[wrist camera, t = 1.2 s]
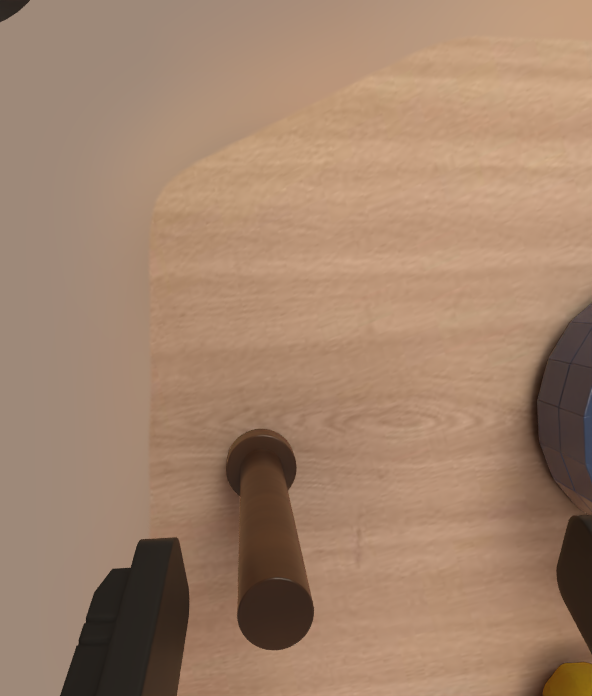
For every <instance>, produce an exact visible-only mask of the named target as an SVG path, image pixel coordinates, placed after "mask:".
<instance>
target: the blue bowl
mask: <svg viewBox="0 0 592 696" xmlns="http://www.w3.org/2000/svg"><path fill="white" fill-rule="evenodd" d="M537 412H538V433H539V443H540V445H541V448H542V451H543V453H544V456H545V458H546V461H547V464H548V466H549V469H550V471H551V474H552V477H553V478H554V480H555V481H556V483H557V484H558V485H559V486H560V487H561V488H562V490H563V491H564V492H565V493H566V494H567V496H568V497H569V498H570V499H571V500H572V502H573V503H574V504H575V505H576V506H577V507H578V508H579V509H580V510H582V511H583V512H585V513H586V514H588V515H592V303H591V304H590V305H589V306H587V307H586V308H585V309H584V310H583V311H582V312H581V313H580V314H578V315H577V316H576V317H575V318H574V319H573V320H572V321H571V322H570V323H569V325H568V326H567V328H566V329H565V331H564V333H563V334H562V336H561V338H560V339H559V341H558V343H557V344H556V346H555V347H554V349H553V351H552V352H551V354H550V356H549V357H548V360H547V364H546V368H545V372H544V376H543V380H542V383H541V387H540V391H539V395H538V400H537Z"/></svg>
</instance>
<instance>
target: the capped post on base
mask: <svg viewBox="0 0 592 696" xmlns="http://www.w3.org/2000/svg"><path fill="white" fill-rule="evenodd" d="M226 473H227V478H228V481H229V484H230V486H231V487H232V489H233V490H234V491H235V492H236V493H237V494H238V495H239V496H240V513H239V559H238V605H237V619H238V624H239V627H240V630H241V632H242V633H243V635H244V636H245V637H246V639H248V640H249V641H250V642H251V643H252V644H254V645H255V646H257V647H260V648H262V649H266V650H282V649H285V648H288V647H291V646H293V645H294V644H296V643H297V642H299V641H300V640H301V639H302V638H303V637H304V636H305V635H306V634H307V632H308V631H309V629H310V627H311V624H312V621H313V617H314V606H313V601H312V597H311V592H310V588H309V583H308V579H307V574H306V570H305V565H304V561H303V556H302V552H301V547H300V543H299V538H298V534H297V529H296V525H295V520H294V516H293V512H292V507H291V503H290V498H289V494H288V490H289V488H290V487H291V485H292V483H293V481H294V479H295V475H296V461H295V457H294V454H293V451H292V448H291V446H290V444H289V443H288V442H287V440H286V439H285V438H284V437H282V436H281V435H280V434H278V433H276V432H274V431H271V430H267V429H256V430H251V431H249V432H246V433H244V434H243V435H241V436H240V437H239V438H238V439H237V440H236V441H235V442H234V443H233V445H232V446H231V448H230V450H229V453H228V457H227V466H226Z"/></svg>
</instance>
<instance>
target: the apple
mask: <svg viewBox="0 0 592 696" xmlns="http://www.w3.org/2000/svg"><path fill="white" fill-rule="evenodd" d="M543 696H592V664H590V663H585V662H580V663H565V664H562V665H560V666H559V667H558V668H557V670H556V671H555V672H554V674H553V675H552V676H551V678H550V679H549V680H548V681H547V682H546V684H545V686H544V690H543Z"/></svg>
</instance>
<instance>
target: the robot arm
mask: <svg viewBox="0 0 592 696" xmlns="http://www.w3.org/2000/svg"><path fill="white" fill-rule="evenodd" d="M556 572H557V582H558V587H559V590H560V593H561V596H562V598H563V600H564V602H565V604H566V606H567V608H568V610H569V612H570V613H571V615H572V617H573V619H574V621H575V623H576V625H577V627H578V629H579V631H580V633H581V634H582V636H583V638H584V640H585V642H586V644H587V646H588V648H589V650H590V652H591V653H592V515H579V516H572V517H571V518H570V519H569V522H568V525H567V529H566V533H565V536H564V540H563V544H562V548H561V552H560V556H559V560H558V564H557V571H556ZM188 617H189V588H188V582H187V577H186V572H185V567H184V563H183V558H182V553H181V548H180V543H179V540H178V538H177V537H175V538H158V539H141V540H140V541H139V542H138V544H137V547H136V551H135V554H134V558H133V561H132V565H131V568H120V569H112V570H111V571H110V573H109V574H108V575H107V577H106V578H105V579H104V581H103V582H102V583H101V584H100V586H99V587H98V588H97V590H96V591H95V592H94V595H93V598H92V601H91V604H90V608H89V610H88V614H87V616H86V623H85V624H84V626H83V628H82V631H81V635H80V638H79V644H78V646H76V649H75V653H74V656H73V659H72V662H71V665H70V668H69V671H68V674H67V677H66V680H65V683H64V686H63V689H62V692H61V695H60V696H177V690H178V684H179V677H180V670H181V664H182V657H183V651H184V644H185V637H186V631H187V624H188Z"/></svg>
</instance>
